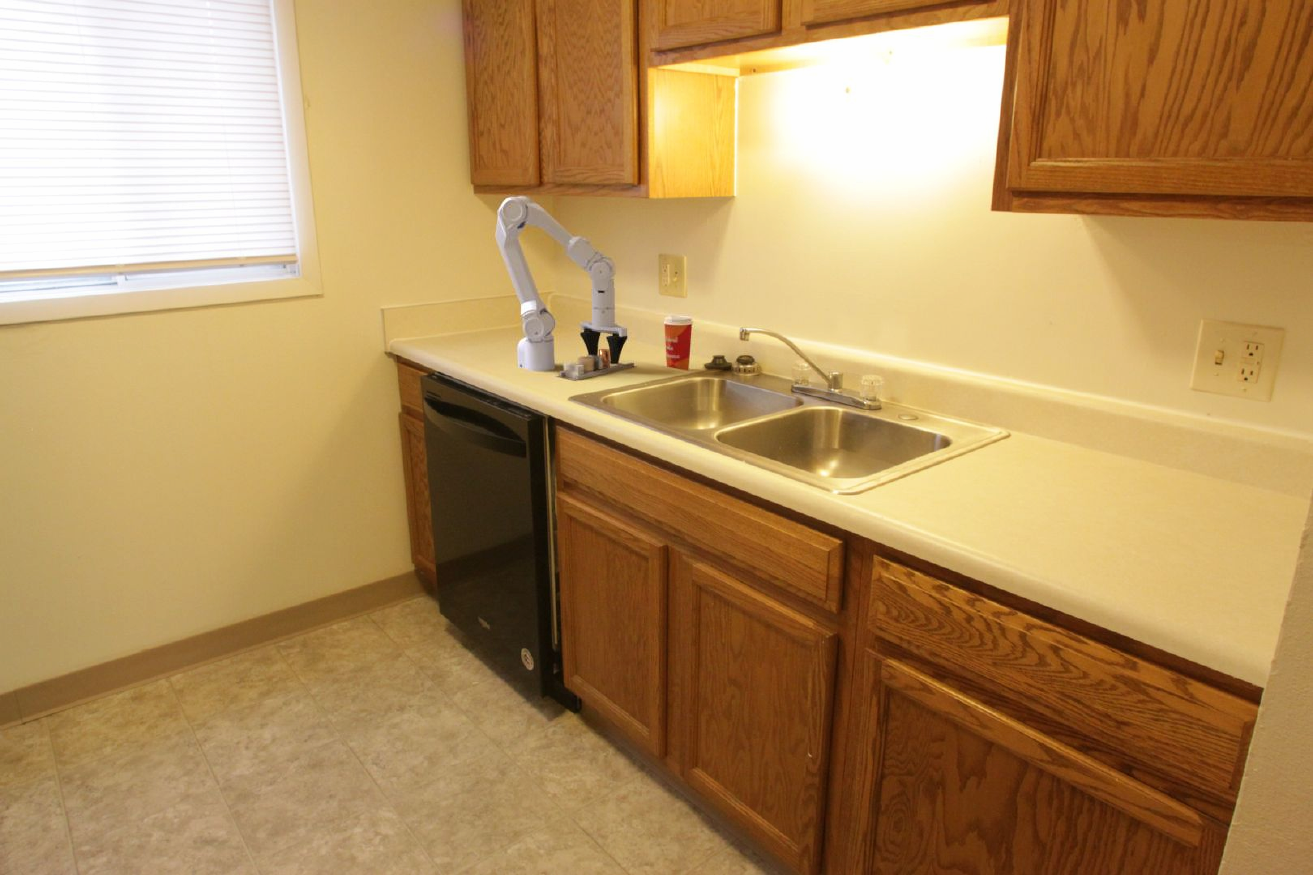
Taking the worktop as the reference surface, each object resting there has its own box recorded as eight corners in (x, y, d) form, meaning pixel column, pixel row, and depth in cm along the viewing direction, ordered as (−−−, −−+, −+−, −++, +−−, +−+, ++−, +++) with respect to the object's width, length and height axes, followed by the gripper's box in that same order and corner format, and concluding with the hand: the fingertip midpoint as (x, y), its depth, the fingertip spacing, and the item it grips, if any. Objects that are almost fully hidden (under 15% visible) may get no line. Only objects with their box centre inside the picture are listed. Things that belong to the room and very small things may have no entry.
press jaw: (587, 370, 221) (586, 351, 220) (606, 366, 226) (606, 347, 225) (599, 373, 219) (599, 353, 217) (619, 368, 224) (618, 349, 222)
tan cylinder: (574, 374, 218) (573, 358, 217) (586, 371, 221) (585, 355, 220) (585, 376, 215) (585, 360, 214) (597, 373, 218) (596, 358, 217)
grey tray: (555, 382, 216) (554, 364, 215) (617, 368, 232) (617, 351, 230) (575, 386, 211) (574, 368, 210) (637, 372, 227) (637, 355, 226)
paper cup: (658, 369, 231) (658, 316, 226) (685, 367, 233) (686, 314, 229) (669, 375, 224) (670, 320, 219) (697, 373, 226) (698, 319, 222)
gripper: (635, 308, 216) (635, 362, 220) (594, 302, 226) (595, 354, 230) (615, 312, 211) (616, 367, 215) (574, 305, 221) (575, 358, 225)
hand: (604, 361), depth 222 cm, fingers open, 7 cm apart
